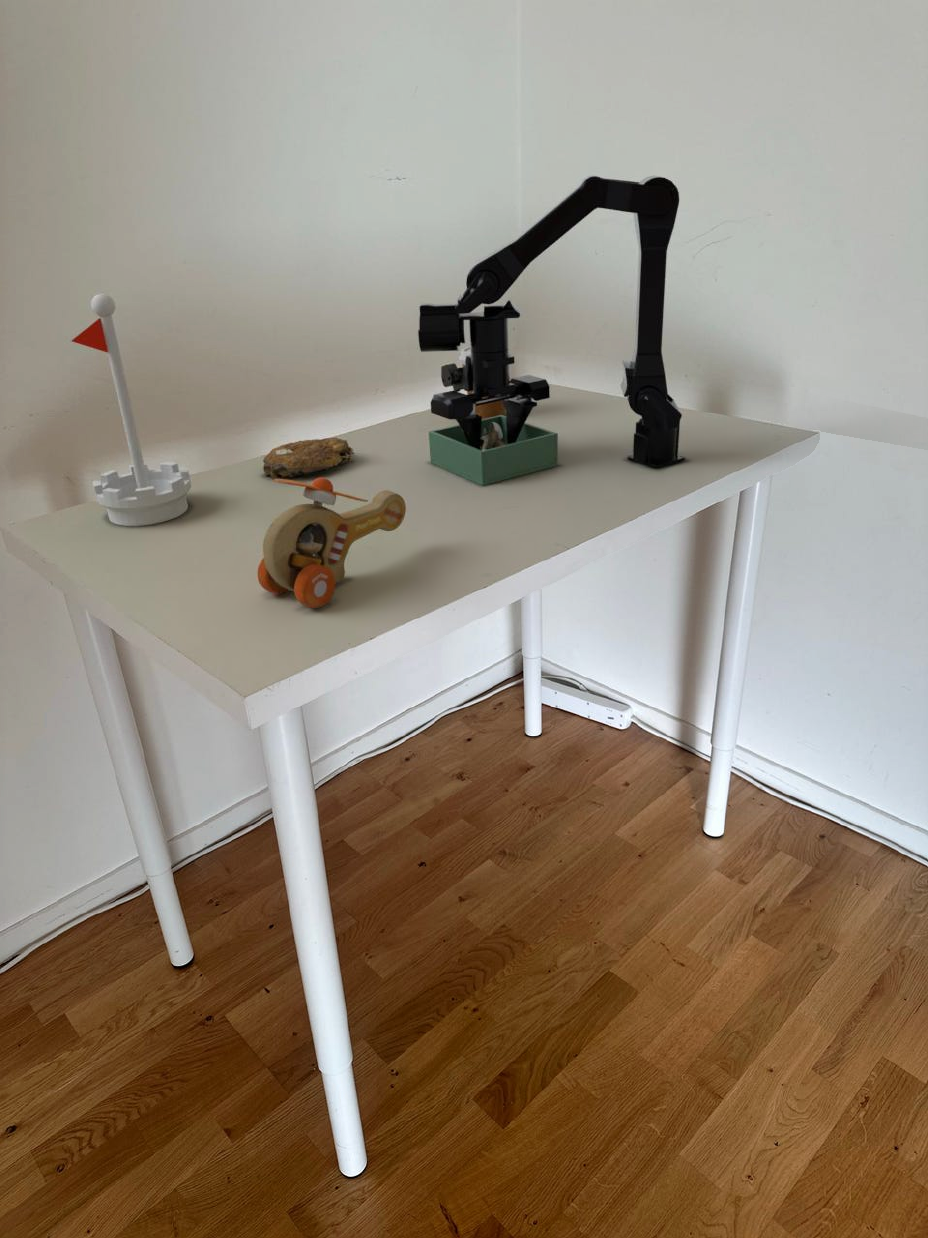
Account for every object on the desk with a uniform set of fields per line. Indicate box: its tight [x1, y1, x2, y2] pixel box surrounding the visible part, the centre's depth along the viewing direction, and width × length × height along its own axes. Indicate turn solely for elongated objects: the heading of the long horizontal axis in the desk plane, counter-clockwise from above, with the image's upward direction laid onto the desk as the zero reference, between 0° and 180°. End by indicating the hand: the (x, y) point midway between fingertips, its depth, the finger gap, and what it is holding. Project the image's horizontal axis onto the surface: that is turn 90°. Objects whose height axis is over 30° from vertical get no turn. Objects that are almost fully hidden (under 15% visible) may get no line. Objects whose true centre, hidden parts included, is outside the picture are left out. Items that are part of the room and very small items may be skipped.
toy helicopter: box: [257, 477, 407, 609], centre depth 105 cm, size 8×21×14 cm, turn 140°
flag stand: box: [71, 293, 192, 527], centre depth 124 cm, size 13×13×30 cm
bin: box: [428, 415, 559, 486], centre depth 142 cm, size 14×15×5 cm
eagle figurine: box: [462, 422, 508, 451], centre depth 142 cm, size 8×7×9 cm
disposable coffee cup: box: [458, 346, 513, 419], centre depth 167 cm, size 10×10×12 cm
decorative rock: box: [262, 437, 356, 479], centre depth 146 cm, size 11×4×15 cm
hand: (493, 451), depth 142 cm, fingers closed on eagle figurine, 6 cm apart
